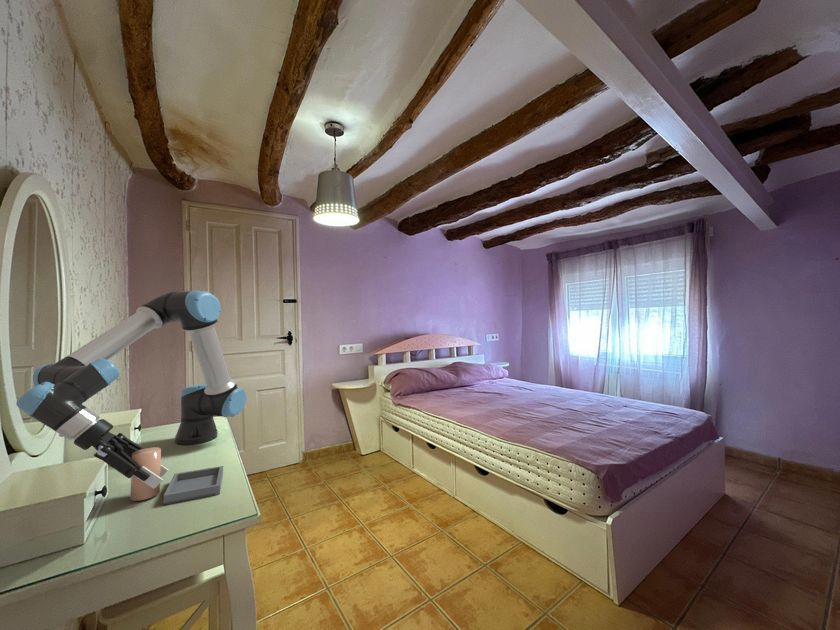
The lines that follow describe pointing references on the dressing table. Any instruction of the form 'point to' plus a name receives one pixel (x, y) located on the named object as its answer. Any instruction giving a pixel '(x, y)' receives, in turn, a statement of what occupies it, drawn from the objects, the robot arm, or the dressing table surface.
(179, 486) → the tray
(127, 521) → the dressing table surface
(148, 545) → the dressing table surface
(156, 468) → the peach domed cylinder
